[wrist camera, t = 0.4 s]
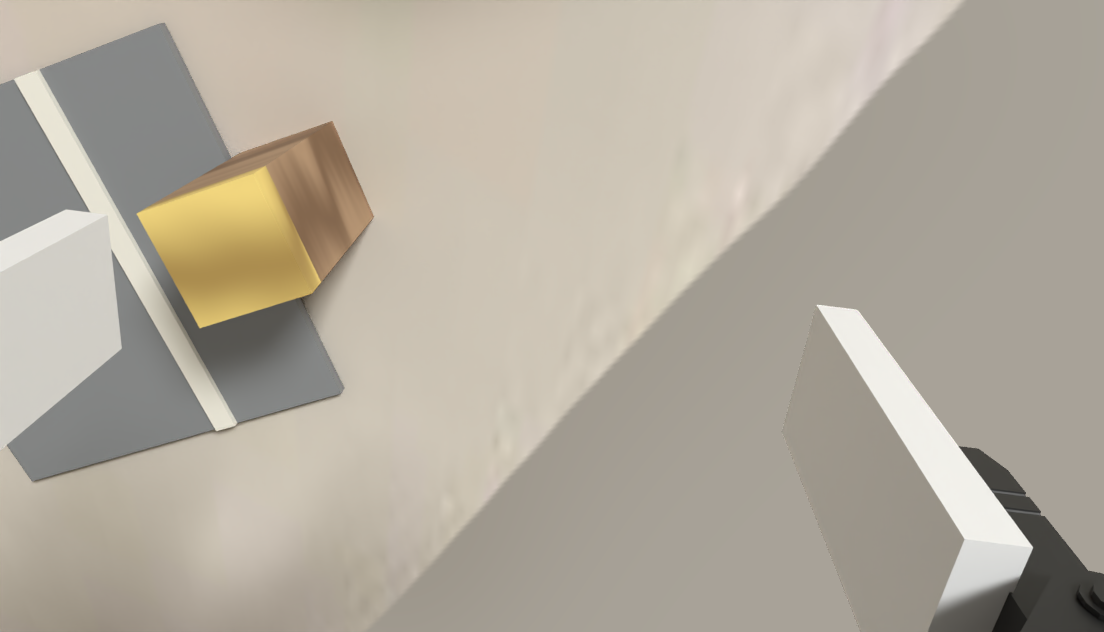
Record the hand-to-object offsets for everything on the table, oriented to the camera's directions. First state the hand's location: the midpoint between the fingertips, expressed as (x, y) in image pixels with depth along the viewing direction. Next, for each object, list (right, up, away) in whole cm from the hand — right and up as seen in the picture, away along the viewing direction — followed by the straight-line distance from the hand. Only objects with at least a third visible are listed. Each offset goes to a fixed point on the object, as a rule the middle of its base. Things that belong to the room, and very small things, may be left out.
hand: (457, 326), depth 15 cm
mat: (-22, +2, +28) cm, 36 cm away
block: (-10, +7, +25) cm, 28 cm away
